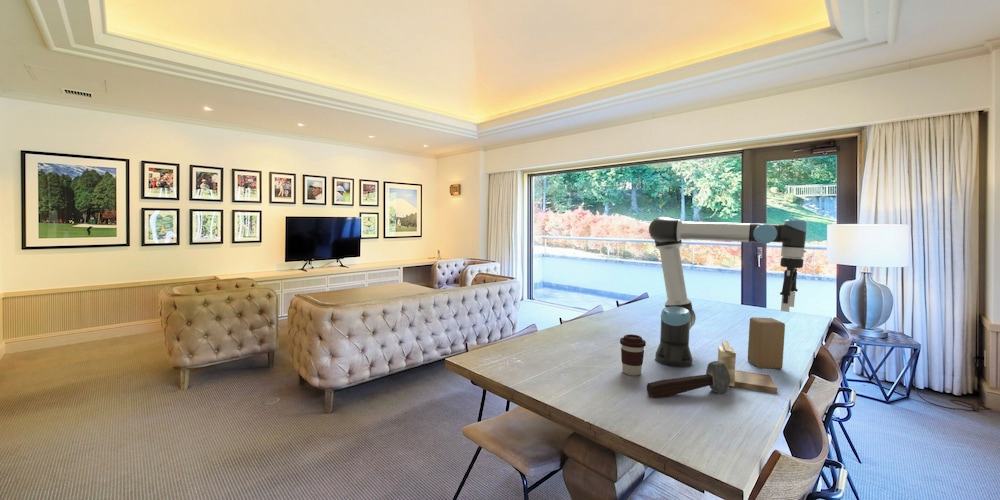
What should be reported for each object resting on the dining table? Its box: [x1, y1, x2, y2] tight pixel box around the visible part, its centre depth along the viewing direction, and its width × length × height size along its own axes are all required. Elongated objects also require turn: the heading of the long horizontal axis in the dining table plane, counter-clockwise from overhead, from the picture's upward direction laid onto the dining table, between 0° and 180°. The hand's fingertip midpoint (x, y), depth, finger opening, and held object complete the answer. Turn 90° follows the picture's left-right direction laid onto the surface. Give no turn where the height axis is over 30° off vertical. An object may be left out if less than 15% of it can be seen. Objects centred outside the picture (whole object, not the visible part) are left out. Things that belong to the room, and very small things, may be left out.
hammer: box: [646, 360, 730, 399], centre depth 144 cm, size 5×11×30 cm
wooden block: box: [747, 316, 786, 370], centre depth 175 cm, size 10×10×20 cm
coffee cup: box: [619, 333, 647, 377], centre depth 164 cm, size 10×10×15 cm
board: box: [733, 369, 778, 394], centre depth 156 cm, size 20×14×2 cm
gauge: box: [717, 339, 737, 387], centre depth 157 cm, size 5×14×13 cm, turn 155°
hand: (787, 308), depth 166 cm, fingers open, 13 cm apart
